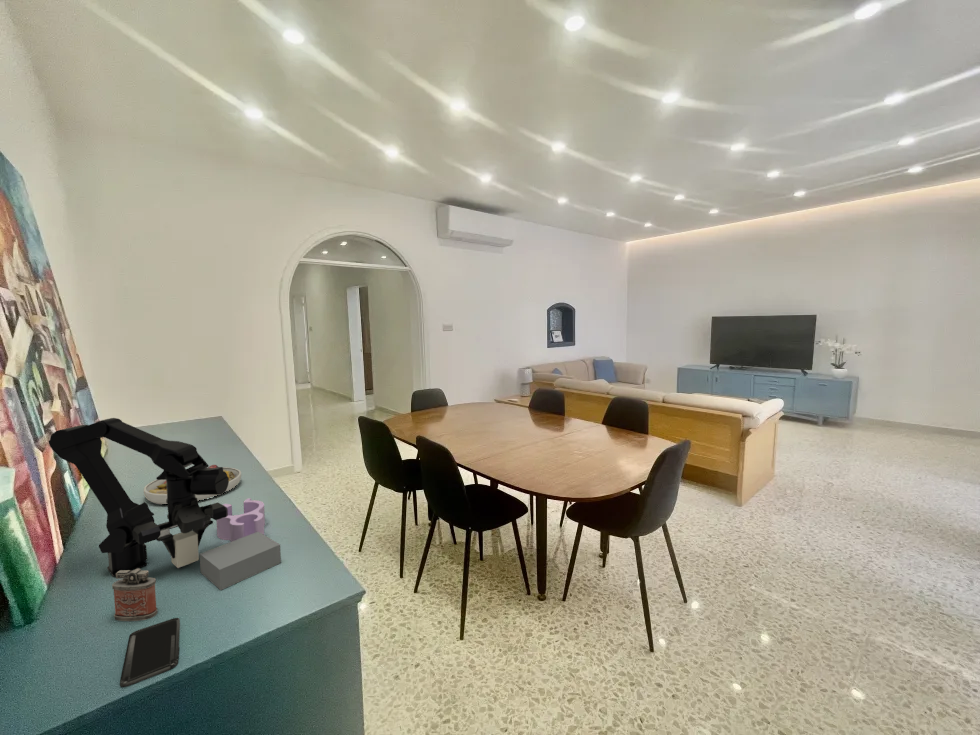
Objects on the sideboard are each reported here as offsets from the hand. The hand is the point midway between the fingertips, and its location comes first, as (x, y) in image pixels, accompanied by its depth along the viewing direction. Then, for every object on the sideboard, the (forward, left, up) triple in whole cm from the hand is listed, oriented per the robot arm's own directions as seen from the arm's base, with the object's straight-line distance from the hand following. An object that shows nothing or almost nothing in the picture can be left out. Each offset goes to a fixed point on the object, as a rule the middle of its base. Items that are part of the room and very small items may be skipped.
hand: (184, 553), depth 103 cm
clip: (+17, +7, -4) cm, 18 cm away
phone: (-14, -29, -4) cm, 32 cm away
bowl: (+21, +57, -4) cm, 61 cm away
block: (0, 0, -2) cm, 2 cm away
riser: (+8, -13, -3) cm, 16 cm away
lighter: (-13, -14, -3) cm, 19 cm away
